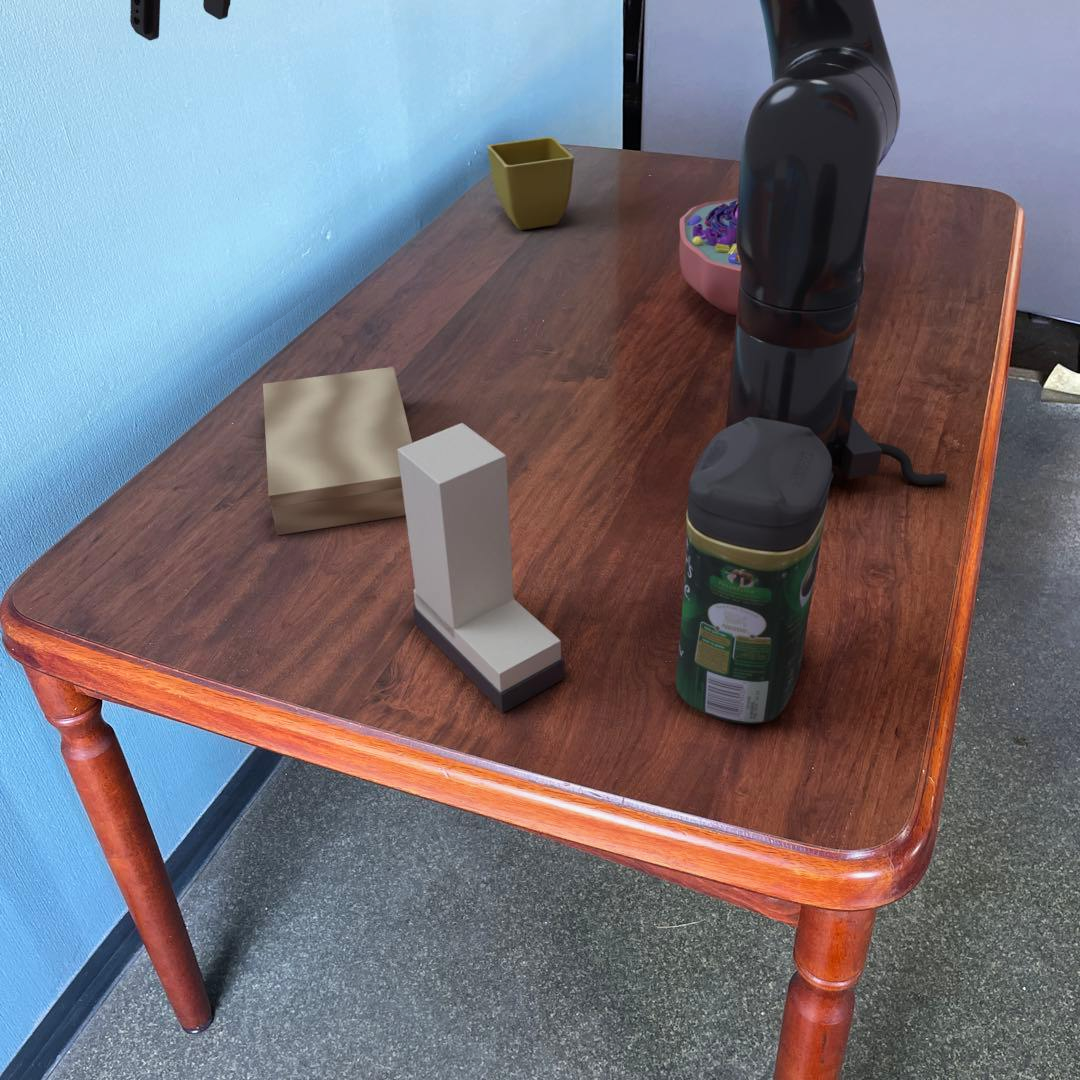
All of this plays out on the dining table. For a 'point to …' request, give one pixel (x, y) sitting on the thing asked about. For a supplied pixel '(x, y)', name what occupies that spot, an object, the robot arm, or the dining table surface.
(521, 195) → the flower pot
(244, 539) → the dining table surface
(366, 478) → the tan flat block
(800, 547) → the coffee jar
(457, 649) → the boot
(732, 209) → the cell model
